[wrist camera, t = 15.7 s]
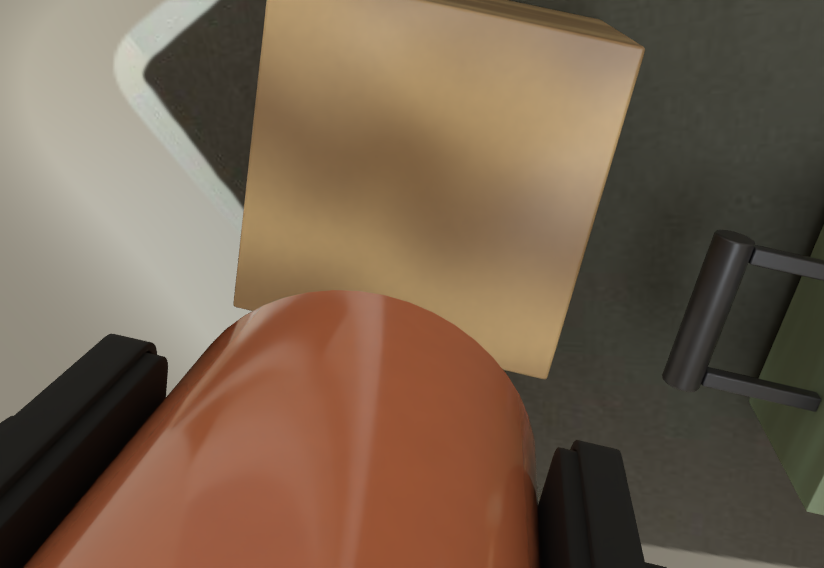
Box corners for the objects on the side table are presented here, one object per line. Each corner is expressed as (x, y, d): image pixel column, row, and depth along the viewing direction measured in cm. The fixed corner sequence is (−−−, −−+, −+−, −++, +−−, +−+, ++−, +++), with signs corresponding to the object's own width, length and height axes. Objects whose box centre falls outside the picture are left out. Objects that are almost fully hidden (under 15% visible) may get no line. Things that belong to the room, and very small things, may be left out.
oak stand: (539, 250, 35) (546, 380, 24) (323, 202, 35) (232, 307, 24) (602, 20, 31) (646, 47, 20) (358, -32, 31) (269, -33, 20)
